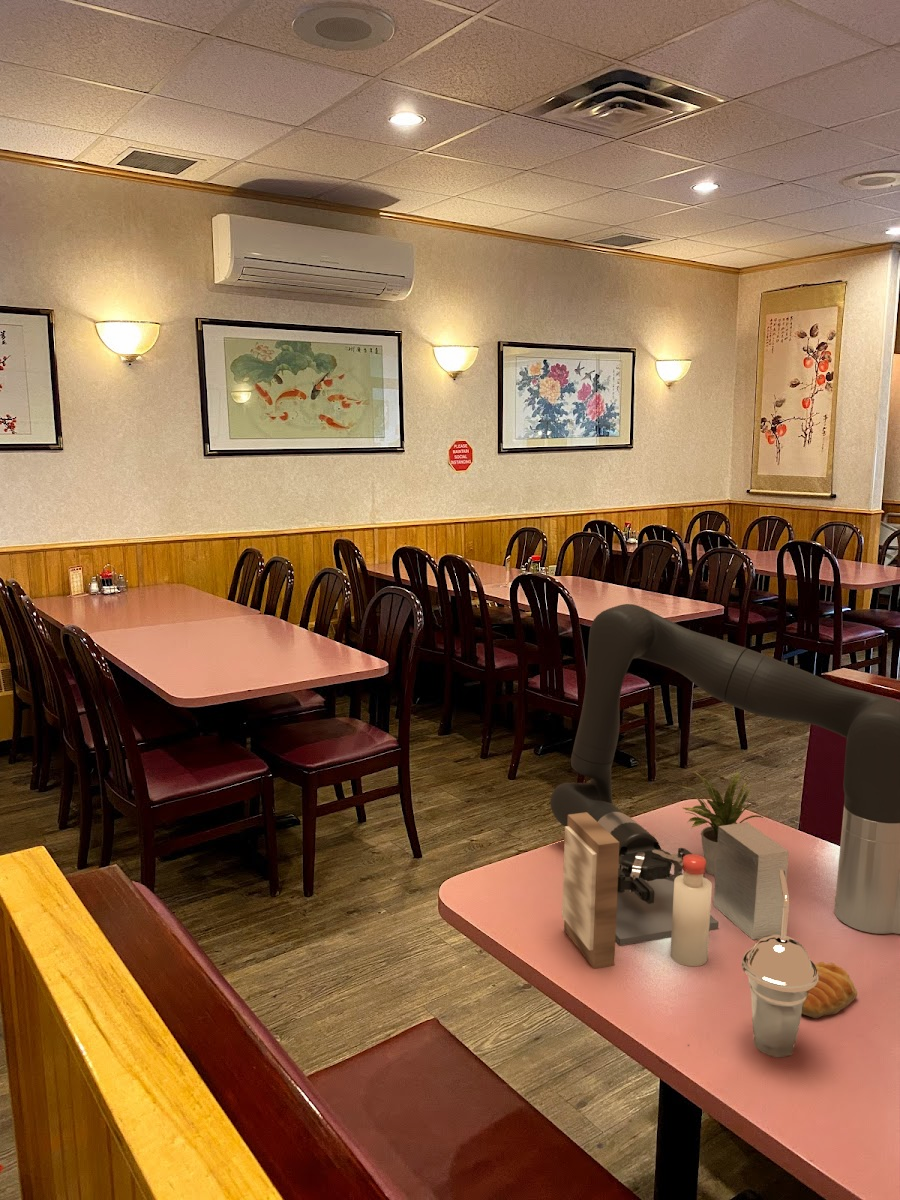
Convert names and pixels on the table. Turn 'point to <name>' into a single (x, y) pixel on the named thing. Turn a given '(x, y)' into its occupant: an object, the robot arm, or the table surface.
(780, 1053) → the cup with straw
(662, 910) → the slate tray
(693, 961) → the sauce bottle
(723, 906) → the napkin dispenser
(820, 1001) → the pastry
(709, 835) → the house plant
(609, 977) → the table surface
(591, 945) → the stand
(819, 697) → the robot arm
